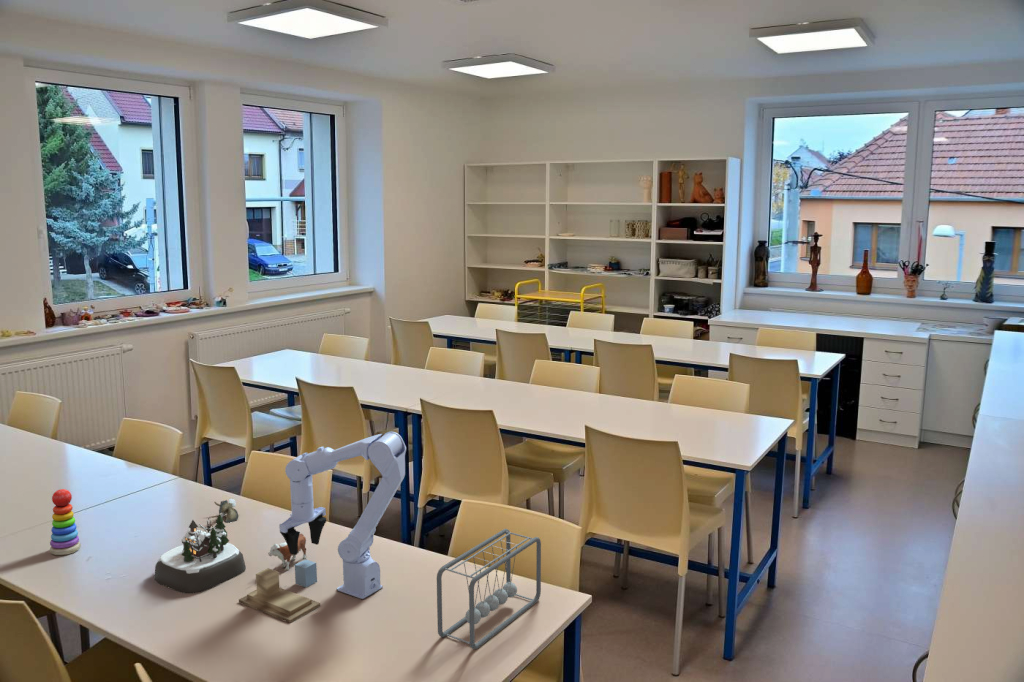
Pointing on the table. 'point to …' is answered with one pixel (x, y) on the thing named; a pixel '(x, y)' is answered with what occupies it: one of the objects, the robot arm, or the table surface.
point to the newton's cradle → (499, 595)
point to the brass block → (267, 582)
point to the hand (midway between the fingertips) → (304, 548)
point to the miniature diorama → (200, 560)
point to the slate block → (305, 573)
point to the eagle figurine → (228, 510)
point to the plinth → (281, 604)
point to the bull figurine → (284, 552)
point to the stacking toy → (63, 525)
